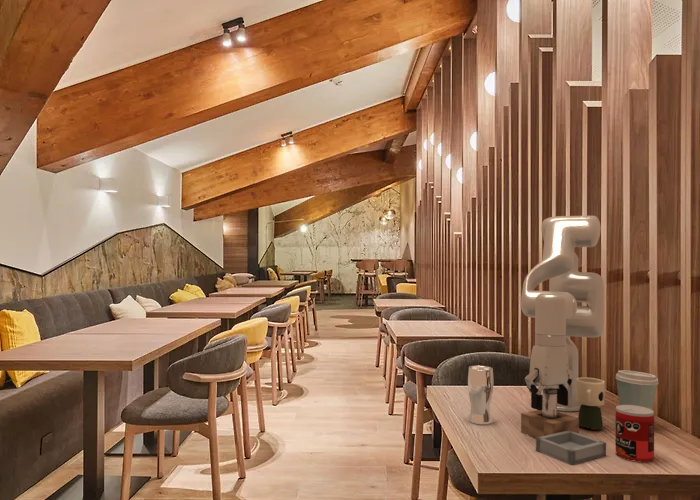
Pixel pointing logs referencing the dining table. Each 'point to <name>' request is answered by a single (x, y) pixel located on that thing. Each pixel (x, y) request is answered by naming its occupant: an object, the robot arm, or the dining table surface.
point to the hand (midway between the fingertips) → (549, 406)
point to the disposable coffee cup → (636, 388)
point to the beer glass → (480, 393)
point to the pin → (549, 403)
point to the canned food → (635, 433)
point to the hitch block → (547, 424)
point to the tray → (571, 447)
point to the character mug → (590, 401)
